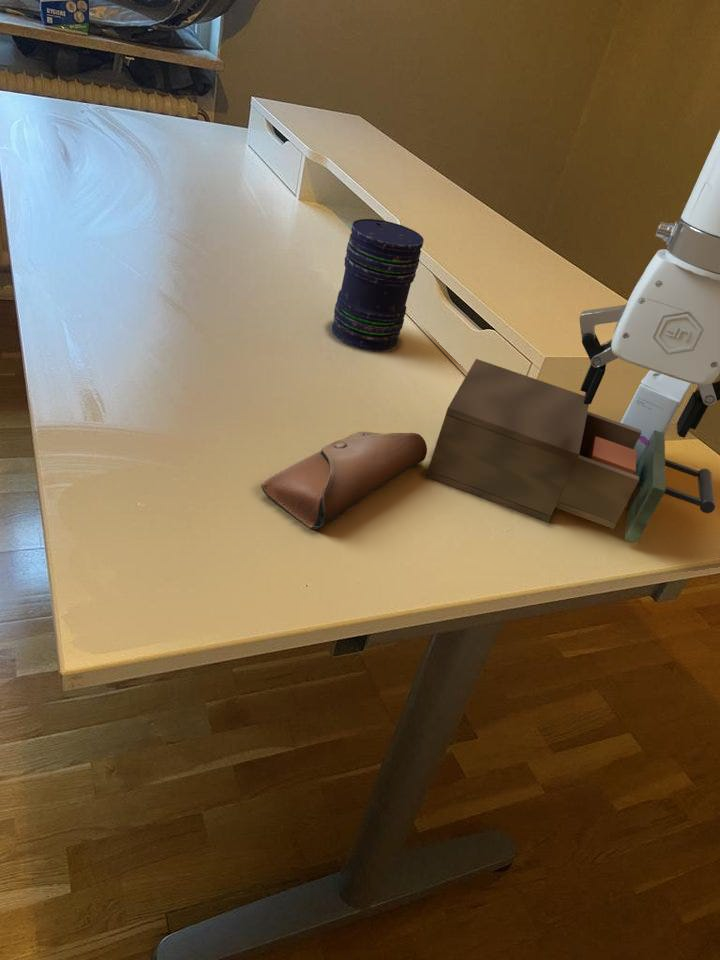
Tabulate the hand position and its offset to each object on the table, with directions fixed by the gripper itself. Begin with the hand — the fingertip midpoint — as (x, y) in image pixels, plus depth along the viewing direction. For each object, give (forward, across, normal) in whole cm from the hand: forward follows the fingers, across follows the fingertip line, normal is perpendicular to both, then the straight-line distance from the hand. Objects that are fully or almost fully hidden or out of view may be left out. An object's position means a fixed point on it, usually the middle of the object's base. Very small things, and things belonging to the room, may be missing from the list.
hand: (633, 415), depth 75 cm
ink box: (+12, +3, +11) cm, 16 cm away
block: (+9, 0, 0) cm, 9 cm away
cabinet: (+11, -11, 0) cm, 16 cm away
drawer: (+10, +1, 0) cm, 11 cm away
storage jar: (+12, -35, +22) cm, 43 cm away
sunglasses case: (+12, -25, -13) cm, 30 cm away
